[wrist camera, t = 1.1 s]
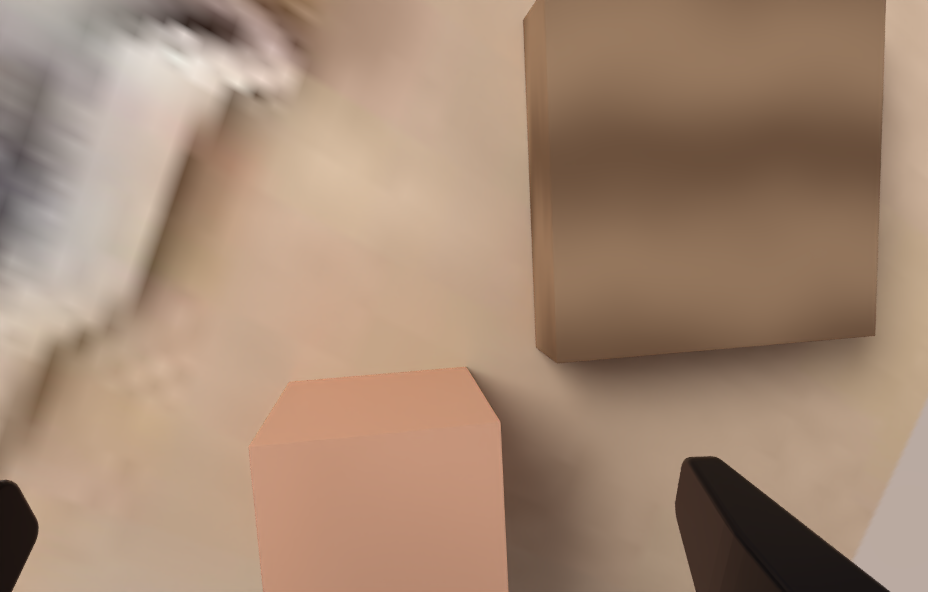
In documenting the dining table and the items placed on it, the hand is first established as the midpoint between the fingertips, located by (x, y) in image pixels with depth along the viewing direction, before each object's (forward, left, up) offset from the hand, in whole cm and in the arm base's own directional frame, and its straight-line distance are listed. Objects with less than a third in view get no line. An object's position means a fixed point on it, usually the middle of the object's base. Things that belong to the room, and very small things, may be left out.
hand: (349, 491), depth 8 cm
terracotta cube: (-4, 0, -12) cm, 13 cm away
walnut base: (+5, -11, -12) cm, 17 cm away
